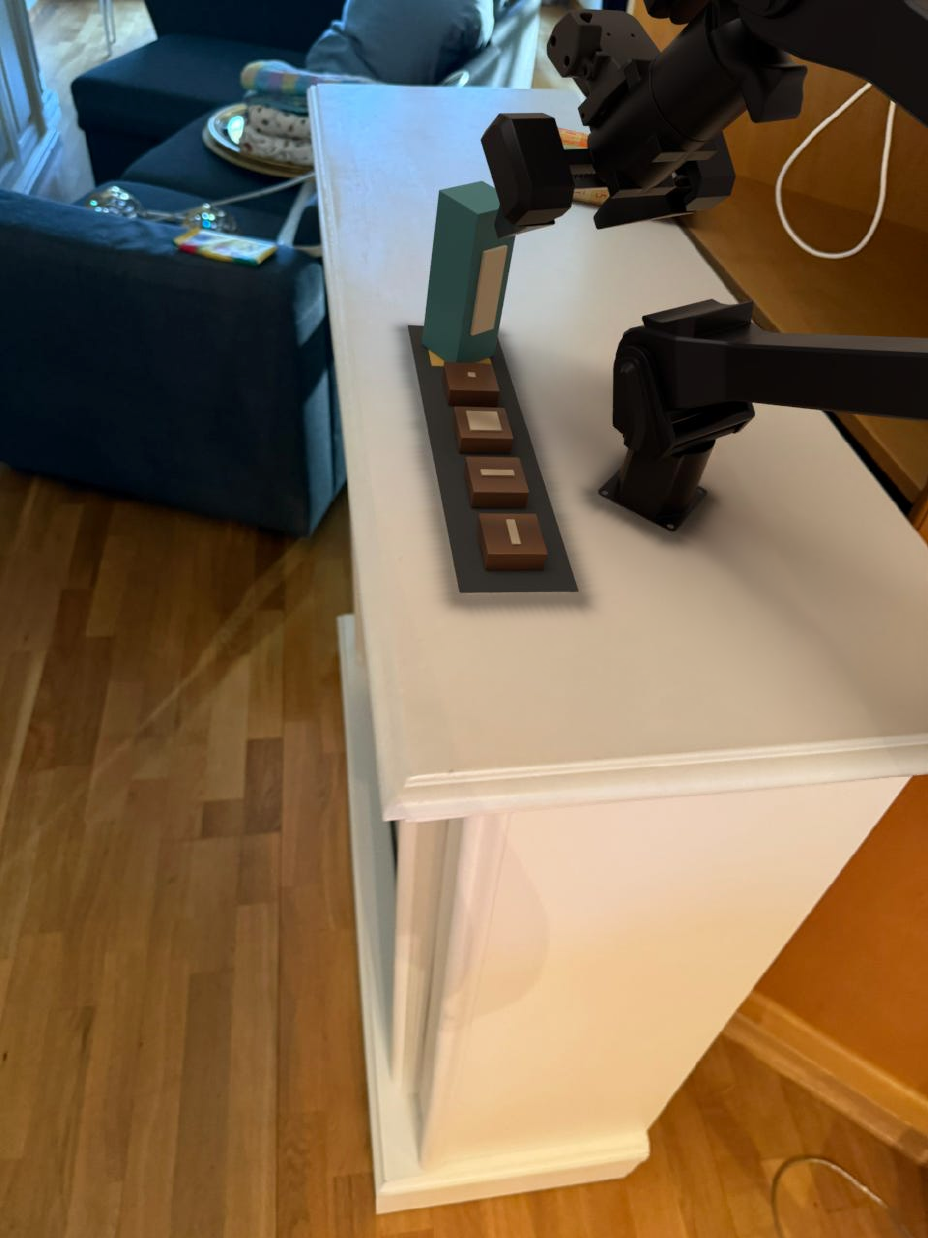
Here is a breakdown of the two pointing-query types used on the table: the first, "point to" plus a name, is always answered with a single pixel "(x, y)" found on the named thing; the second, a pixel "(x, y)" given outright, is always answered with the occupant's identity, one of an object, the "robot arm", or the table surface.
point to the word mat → (454, 488)
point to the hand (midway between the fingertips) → (548, 227)
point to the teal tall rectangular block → (466, 275)
